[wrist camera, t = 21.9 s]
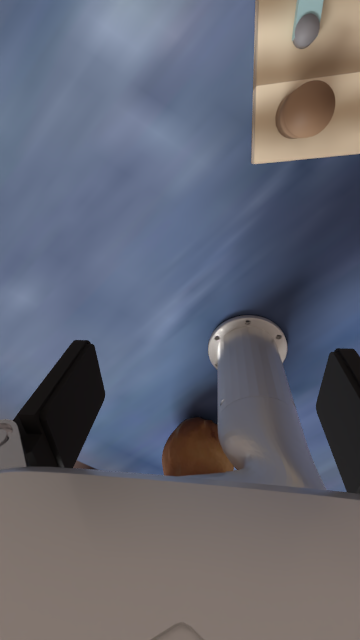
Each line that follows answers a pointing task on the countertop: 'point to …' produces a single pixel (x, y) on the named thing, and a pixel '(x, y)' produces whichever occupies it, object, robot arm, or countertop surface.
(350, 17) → the wooden board with pegs
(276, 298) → the countertop surface
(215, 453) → the butternut squash
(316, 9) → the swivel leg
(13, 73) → the countertop surface
